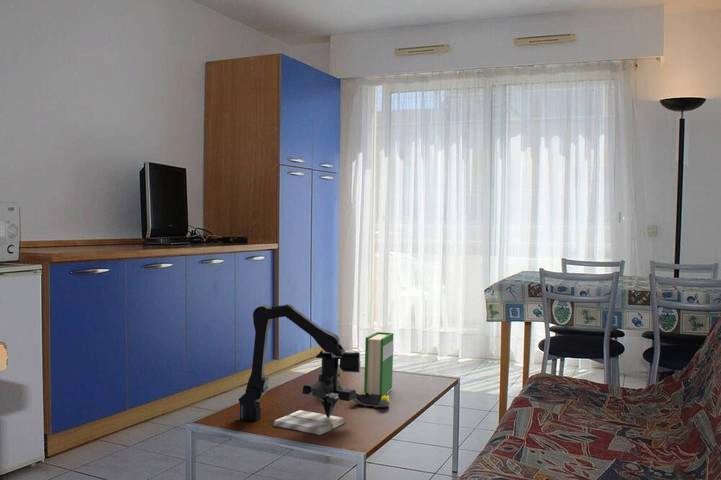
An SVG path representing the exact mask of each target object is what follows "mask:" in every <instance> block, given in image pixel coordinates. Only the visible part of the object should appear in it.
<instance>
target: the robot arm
mask: <svg viewBox="0 0 721 480" xmlns="http://www.w3.org/2000/svg"><path fill="white" fill-rule="evenodd" d="M284 317H285V318H287V319H288V320H289V321H291V322H292V323H293V324H295V325H296V326H297V327H299V328H300V329H301V330H303V331H304V332H305V333H306V334H308V335H310V336H311V337H312V338H313V340H314V341H315V342H316V344H317V345H318V346H319V347H320V348H321V350H320V352H319V353H317V354H316V356H315V358H316V359H321V373H320V374H318V375H319V376H318V380H317V381H315V382H309V383H306V384H303V386H302V387H301V393H302V394H304V395H310V394H311V396H312V397H313V398H314V397H315V396H316V398H318V399H317V400H319V401H320V402H321V405H322V406H323V409H324V413H325V415H326V416H327V417H330V416H332V413H333V411H334V408H335V406H336V404H337V401H338V400H339V401H344V402H350V401H353V399H355V398H357V393H358V392H357V390H355V389H351V388H343V390H341V391H340V390H338V389H339V388H340V386H341V385H340V386H339V385H338V381H339V378H340V377H341V374H340V373H339V369H340V371H342V372H343V373H354V374H355V373H359V374H360V371H361V358H360V357H361V355H360V352H359V351H355V352H350V351H349V352H348V351H346V350H344V347H342V345H341V341H340V337H339V336H338V335H337V334H335V333H333V332H331V331H330V330H328V329H325V328H323V327H321V326H319V325H318V324H316V323H315V322H314V321H312V320H311V319H310V318H308V317H307V316H306V315H304V314H303V313H302V312H300V311H299V310H297V308H295V307H294V305H292V304H290V303H286V304H284V305H273V306H270V305H269V304H263V305H260V306H258V307H256V308H255V309H254V310H253V313H252V319H253V320H252V321H253V328H254V333H255V334H254V341H253V342H254V343H253V354H252V365H251V373H250V376H249V377H248V381H247V384H246V389H245V392H244V394H242V396H240V397H239V398H238V403H239V417H238V421H242V422H246V423H247V422H248V423H254V422H257V421H260V420H262V419H263V417H261V412H262V407H261V403H260V402H259V401H260V400H261V397H263V396H264V394H266V392H267V390H269V379H270V377H269V376H268V377H267V376H265V364H266V354H267V344H268V343H267V342H268V333H269V330H270V328H271V327H270V326H271V325H272V321H273V319H278V318H284ZM330 352H331V353H330ZM333 354H334V355H333ZM356 392H357V393H356ZM339 401H338V402H339Z"/></svg>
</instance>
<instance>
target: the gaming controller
mask: <svg viewBox="0 0 721 480" xmlns="http://www.w3.org/2000/svg"><path fill="white" fill-rule="evenodd" d="M356 393H357V398H355V399H353V400H352V401H353V402H354V403H356V404H358V405H361V406H363V407H365V406H370V407H373V408H375V409H376V408H378V407H379V408H387V407H388V406H389V405H390V404H391V403H390V396H389V395H388V394H387V395H385V396H382V395H376V394H371V395H369V393H367V392H366V393H364V392H363V394H360V393H359V392H357V391H356Z"/></svg>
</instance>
